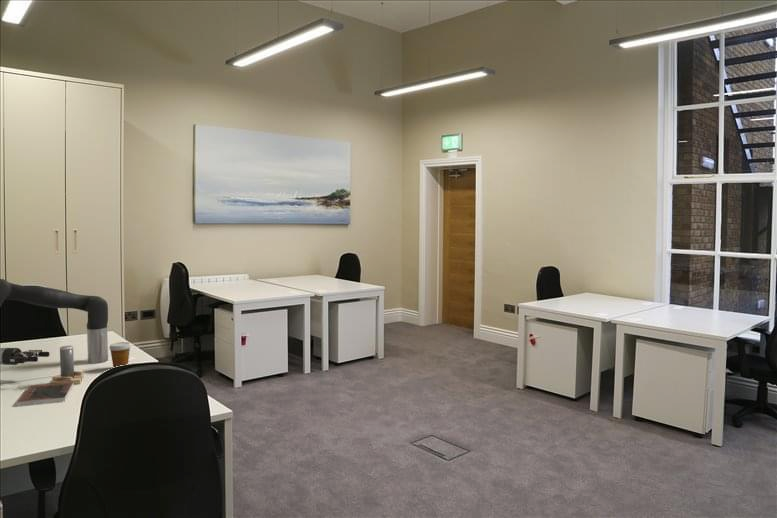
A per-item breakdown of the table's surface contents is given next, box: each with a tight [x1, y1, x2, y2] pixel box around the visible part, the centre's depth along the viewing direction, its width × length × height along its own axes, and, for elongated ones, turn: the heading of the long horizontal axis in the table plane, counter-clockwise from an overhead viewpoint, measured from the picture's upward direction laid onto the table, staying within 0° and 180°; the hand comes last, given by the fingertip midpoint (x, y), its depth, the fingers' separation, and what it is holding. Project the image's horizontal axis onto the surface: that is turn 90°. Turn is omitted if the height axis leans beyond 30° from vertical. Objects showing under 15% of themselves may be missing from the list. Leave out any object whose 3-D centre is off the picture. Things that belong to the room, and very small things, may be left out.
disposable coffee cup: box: [108, 341, 132, 367], centre depth 271 cm, size 10×10×12 cm
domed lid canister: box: [59, 345, 75, 378], centre depth 248 cm, size 5×5×14 cm
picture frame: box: [16, 382, 74, 407], centre depth 230 cm, size 16×2×22 cm
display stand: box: [50, 370, 84, 386], centre depth 248 cm, size 12×11×4 cm
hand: (43, 356), depth 247 cm, fingers open, 8 cm apart
